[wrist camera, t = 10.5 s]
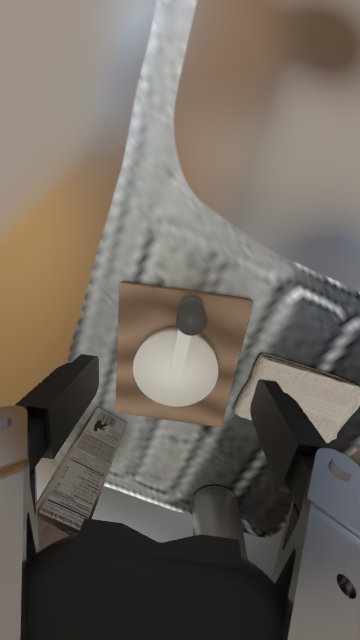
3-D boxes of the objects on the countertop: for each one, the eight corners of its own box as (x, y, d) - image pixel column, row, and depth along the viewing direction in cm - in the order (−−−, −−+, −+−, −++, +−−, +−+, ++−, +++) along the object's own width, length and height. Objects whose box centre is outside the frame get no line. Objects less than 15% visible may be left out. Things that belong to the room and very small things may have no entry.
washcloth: (323, 434, 36) (335, 450, 33) (229, 407, 35) (232, 421, 32) (362, 380, 32) (379, 393, 29) (257, 349, 31) (264, 359, 28)
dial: (205, 404, 32) (210, 452, 25) (131, 388, 32) (113, 433, 24) (238, 299, 27) (257, 319, 19) (148, 280, 26) (131, 292, 19)
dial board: (219, 420, 36) (221, 428, 34) (118, 406, 36) (115, 413, 34) (250, 298, 28) (253, 301, 27) (123, 281, 28) (119, 282, 27)
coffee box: (105, 451, 39) (52, 578, 24) (76, 436, 38) (1, 558, 23) (128, 422, 37) (85, 543, 22) (97, 405, 36) (28, 519, 21)
